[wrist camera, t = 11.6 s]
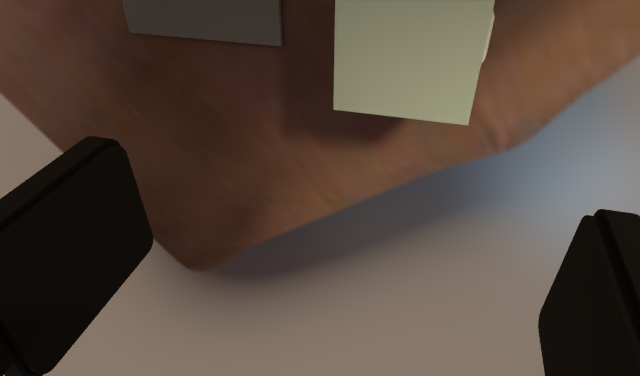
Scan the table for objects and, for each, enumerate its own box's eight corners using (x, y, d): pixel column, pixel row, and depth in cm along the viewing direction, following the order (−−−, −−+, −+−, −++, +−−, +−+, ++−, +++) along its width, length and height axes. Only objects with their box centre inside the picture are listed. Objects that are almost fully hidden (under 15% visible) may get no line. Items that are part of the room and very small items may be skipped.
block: (496, -39, 21) (500, -26, 18) (467, 100, 25) (467, 125, 22) (349, -45, 22) (335, -34, 20) (345, 87, 26) (333, 109, 24)
